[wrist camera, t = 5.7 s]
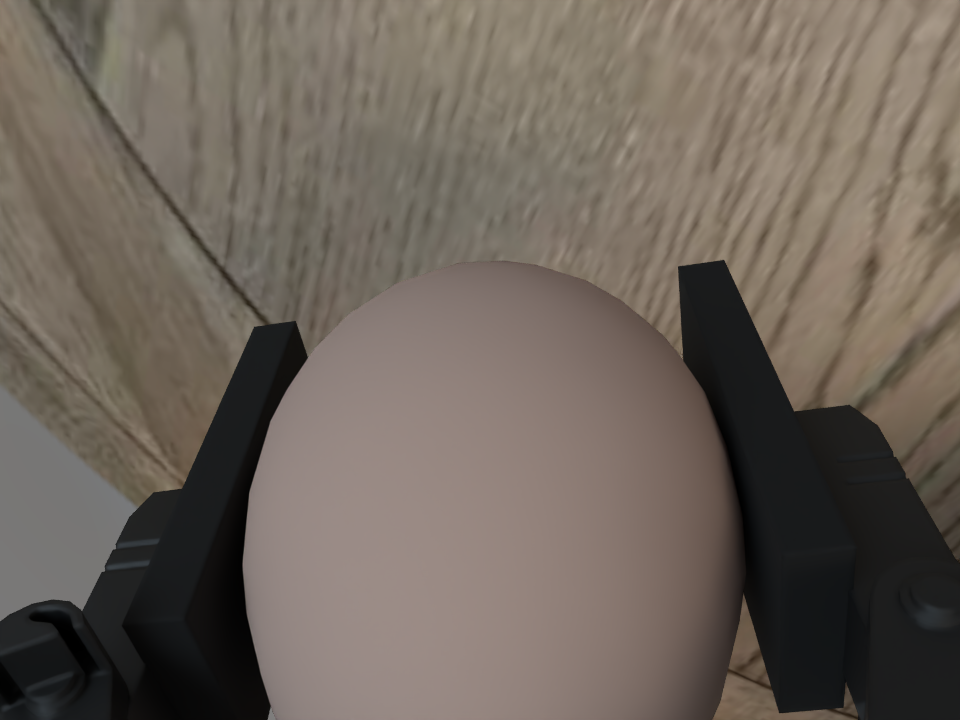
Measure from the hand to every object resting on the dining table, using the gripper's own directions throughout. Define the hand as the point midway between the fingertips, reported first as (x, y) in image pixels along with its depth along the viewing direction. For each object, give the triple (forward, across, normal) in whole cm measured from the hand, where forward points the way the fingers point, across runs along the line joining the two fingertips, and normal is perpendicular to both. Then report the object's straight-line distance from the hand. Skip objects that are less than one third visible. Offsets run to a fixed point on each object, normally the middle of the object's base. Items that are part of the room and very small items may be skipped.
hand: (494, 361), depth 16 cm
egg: (0, 0, 0) cm, 0 cm away
